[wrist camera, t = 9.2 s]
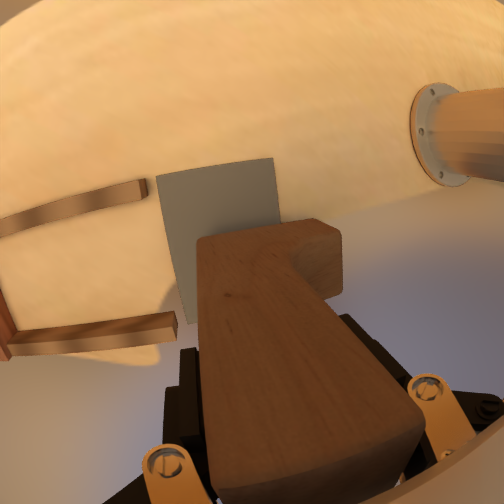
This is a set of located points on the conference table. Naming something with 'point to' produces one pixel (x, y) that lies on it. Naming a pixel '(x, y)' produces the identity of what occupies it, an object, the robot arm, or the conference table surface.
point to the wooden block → (292, 375)
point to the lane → (92, 334)
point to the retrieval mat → (213, 212)
